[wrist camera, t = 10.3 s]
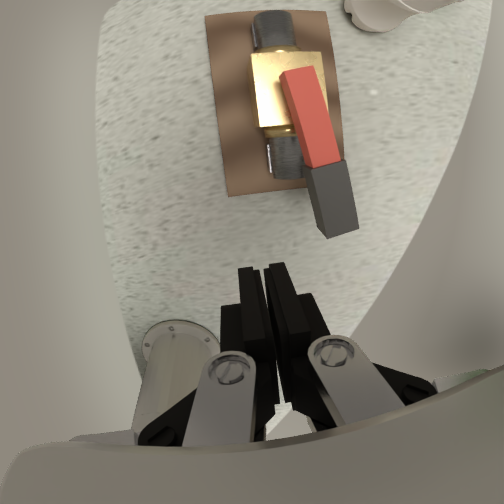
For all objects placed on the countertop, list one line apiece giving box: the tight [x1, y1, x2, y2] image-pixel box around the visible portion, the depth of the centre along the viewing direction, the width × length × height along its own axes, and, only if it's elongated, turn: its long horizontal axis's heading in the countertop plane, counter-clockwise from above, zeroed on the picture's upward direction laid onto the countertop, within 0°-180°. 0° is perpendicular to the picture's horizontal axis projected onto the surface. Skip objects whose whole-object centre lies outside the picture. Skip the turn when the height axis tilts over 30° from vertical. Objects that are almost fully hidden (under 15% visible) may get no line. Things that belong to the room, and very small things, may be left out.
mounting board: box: [205, 10, 344, 197], centre depth 29 cm, size 22×14×2 cm, turn 7°
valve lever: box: [279, 65, 359, 239], centre depth 23 cm, size 3×14×4 cm, turn 18°
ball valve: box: [246, 10, 329, 180], centre depth 26 cm, size 18×6×6 cm, turn 7°
